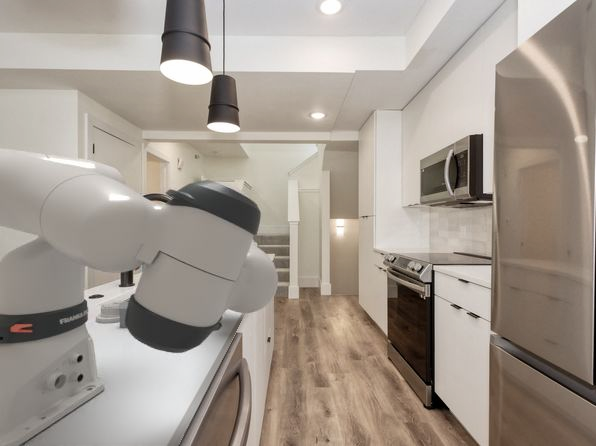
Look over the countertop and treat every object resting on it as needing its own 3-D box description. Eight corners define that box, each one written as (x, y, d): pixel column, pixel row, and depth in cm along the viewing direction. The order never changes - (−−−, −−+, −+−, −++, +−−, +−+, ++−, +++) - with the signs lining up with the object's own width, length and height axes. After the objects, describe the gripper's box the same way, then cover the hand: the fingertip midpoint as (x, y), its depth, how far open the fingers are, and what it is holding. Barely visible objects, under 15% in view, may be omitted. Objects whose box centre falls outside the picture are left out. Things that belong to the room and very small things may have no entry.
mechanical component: (87, 324, 88) (123, 324, 88) (87, 308, 88) (123, 308, 88) (109, 313, 98) (141, 313, 98) (109, 299, 98) (141, 299, 98)
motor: (156, 331, 81) (156, 305, 81) (113, 331, 81) (112, 306, 81) (177, 314, 95) (177, 293, 95) (140, 315, 95) (140, 293, 95)
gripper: (188, 274, 79) (132, 274, 79) (212, 262, 99) (167, 263, 99) (188, 248, 79) (132, 248, 79) (211, 242, 99) (167, 242, 99)
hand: (152, 256), depth 89 cm, fingers closed on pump, 5 cm apart
